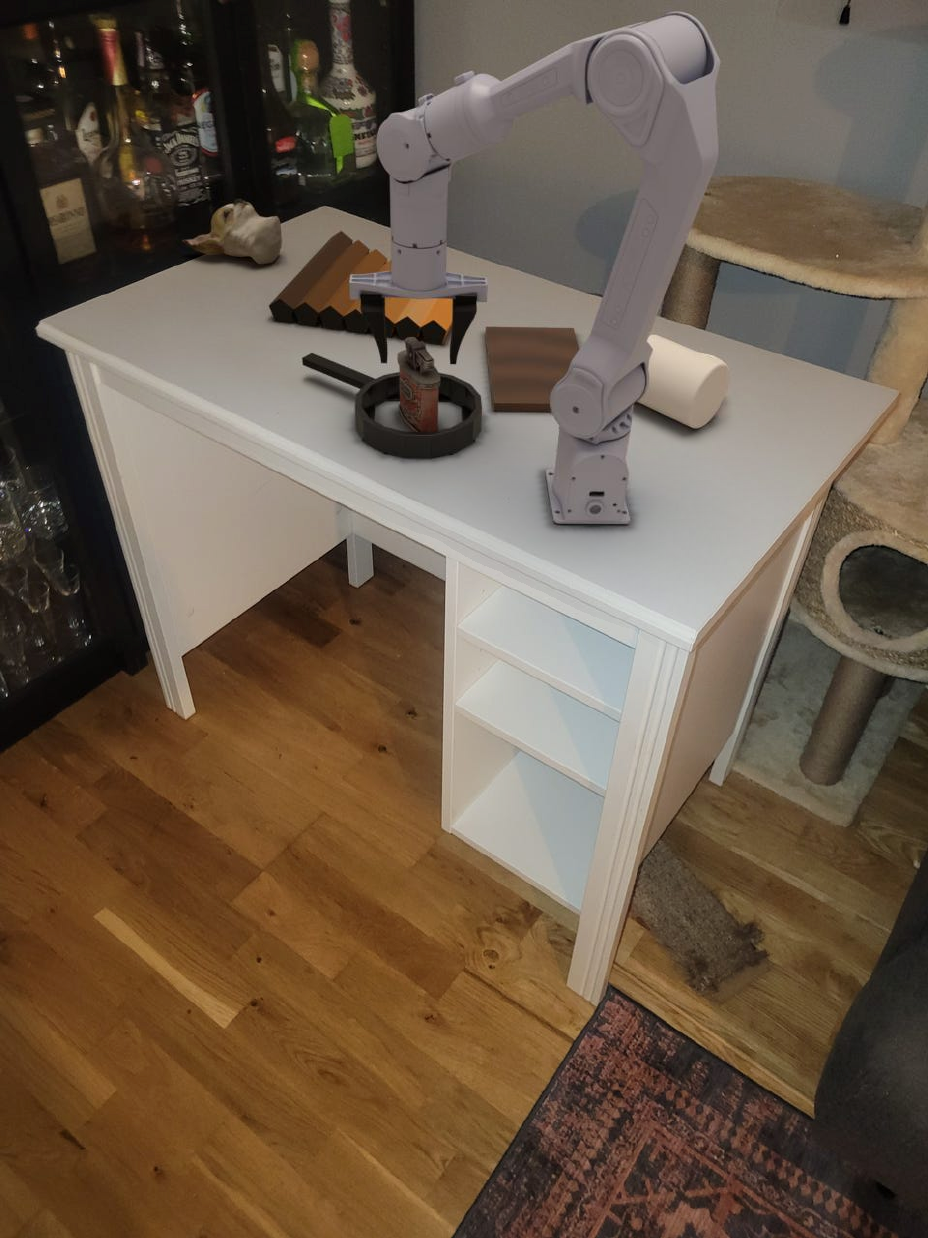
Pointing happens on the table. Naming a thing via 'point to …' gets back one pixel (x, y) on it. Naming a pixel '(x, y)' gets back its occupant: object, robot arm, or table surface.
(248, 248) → the ceramic sculpture
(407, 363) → the lighter
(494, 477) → the table surface
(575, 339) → the board
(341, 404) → the table surface
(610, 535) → the table surface
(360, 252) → the pan flute
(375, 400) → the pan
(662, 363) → the mug
